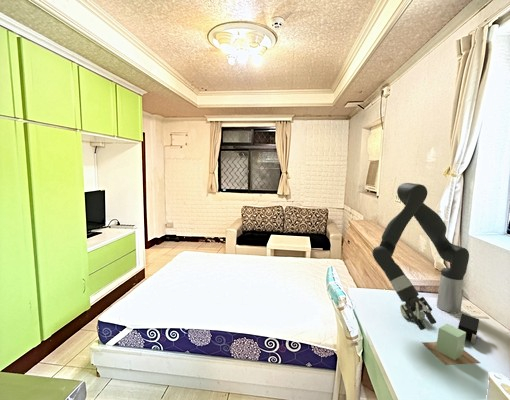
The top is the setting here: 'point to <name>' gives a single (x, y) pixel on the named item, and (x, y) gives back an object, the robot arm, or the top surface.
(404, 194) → the robot arm
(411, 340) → the top surface
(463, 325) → the figurine character
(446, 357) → the walnut board
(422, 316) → the air freshener
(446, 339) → the light green rectangular block
